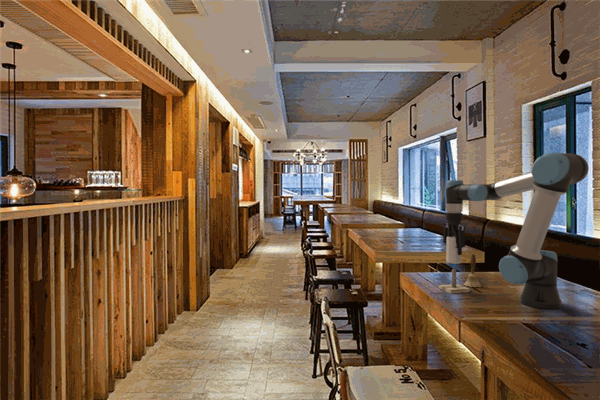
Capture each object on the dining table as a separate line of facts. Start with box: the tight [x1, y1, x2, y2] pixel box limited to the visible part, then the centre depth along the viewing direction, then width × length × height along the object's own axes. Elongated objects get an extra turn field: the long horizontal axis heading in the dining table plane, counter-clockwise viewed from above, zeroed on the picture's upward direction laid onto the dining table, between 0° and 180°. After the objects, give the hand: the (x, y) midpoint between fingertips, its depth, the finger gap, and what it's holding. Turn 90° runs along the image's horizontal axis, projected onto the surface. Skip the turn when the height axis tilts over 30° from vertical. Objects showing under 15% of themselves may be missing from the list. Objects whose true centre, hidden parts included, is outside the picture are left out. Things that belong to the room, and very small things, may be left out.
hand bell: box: [463, 253, 482, 288], centre depth 206 cm, size 8×8×16 cm
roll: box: [445, 235, 462, 265], centre depth 197 cm, size 7×7×12 cm
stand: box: [438, 268, 471, 294], centre depth 197 cm, size 10×10×10 cm
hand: (453, 259), depth 197 cm, fingers closed on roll, 7 cm apart
